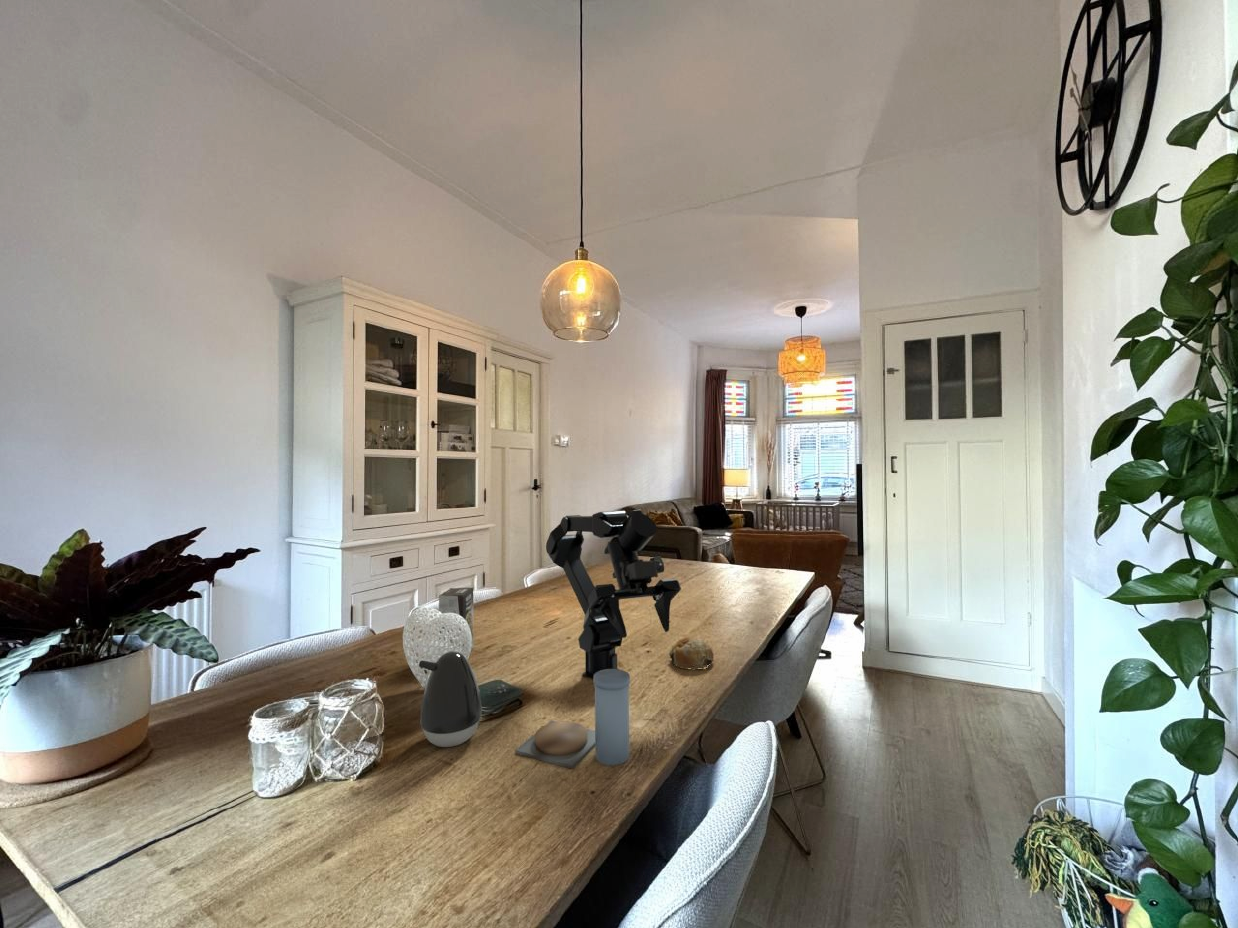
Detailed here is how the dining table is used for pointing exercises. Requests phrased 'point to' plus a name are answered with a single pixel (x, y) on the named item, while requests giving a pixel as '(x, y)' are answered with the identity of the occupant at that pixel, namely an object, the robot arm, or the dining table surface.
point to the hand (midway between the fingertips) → (646, 634)
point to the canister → (611, 716)
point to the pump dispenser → (450, 701)
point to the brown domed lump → (691, 653)
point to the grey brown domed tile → (559, 743)
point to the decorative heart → (435, 646)
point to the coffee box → (458, 607)
